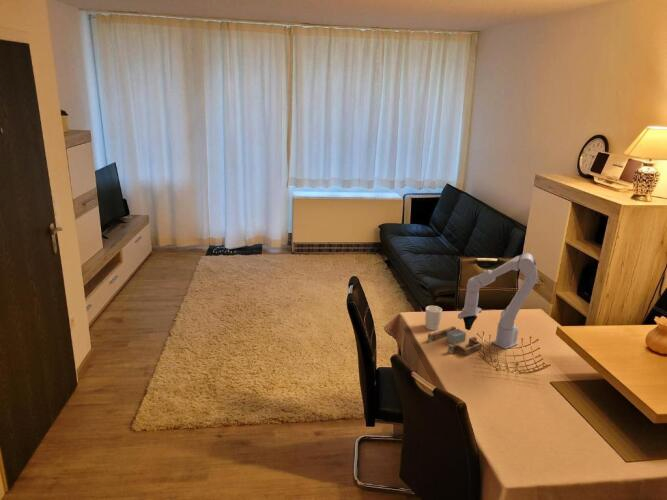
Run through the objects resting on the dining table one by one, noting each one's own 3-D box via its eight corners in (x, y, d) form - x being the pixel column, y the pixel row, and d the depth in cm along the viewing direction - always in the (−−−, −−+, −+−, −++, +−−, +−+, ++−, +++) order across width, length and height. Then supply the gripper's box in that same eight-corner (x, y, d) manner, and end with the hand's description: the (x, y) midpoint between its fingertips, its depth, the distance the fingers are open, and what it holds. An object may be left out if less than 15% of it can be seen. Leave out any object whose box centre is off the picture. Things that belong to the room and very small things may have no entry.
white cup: (420, 325, 247) (422, 306, 244) (433, 322, 250) (435, 304, 247) (430, 332, 240) (432, 313, 237) (443, 329, 243) (445, 310, 240)
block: (456, 337, 236) (457, 328, 234) (464, 341, 232) (466, 333, 230) (446, 340, 232) (447, 332, 231) (454, 345, 228) (455, 336, 227)
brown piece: (452, 331, 241) (453, 324, 240) (484, 348, 226) (485, 341, 225) (427, 340, 231) (428, 333, 230) (459, 358, 216) (460, 351, 215)
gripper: (474, 296, 238) (471, 322, 242) (454, 303, 230) (450, 329, 234) (486, 301, 233) (482, 328, 237) (466, 308, 225) (462, 335, 229)
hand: (467, 329), depth 235 cm, fingers closed
